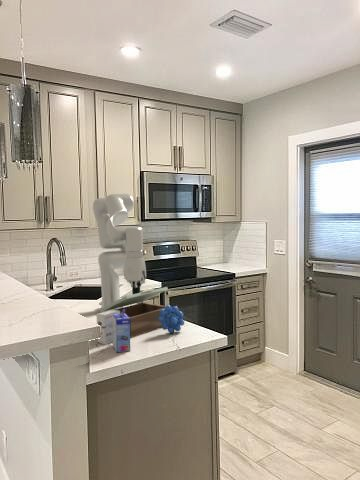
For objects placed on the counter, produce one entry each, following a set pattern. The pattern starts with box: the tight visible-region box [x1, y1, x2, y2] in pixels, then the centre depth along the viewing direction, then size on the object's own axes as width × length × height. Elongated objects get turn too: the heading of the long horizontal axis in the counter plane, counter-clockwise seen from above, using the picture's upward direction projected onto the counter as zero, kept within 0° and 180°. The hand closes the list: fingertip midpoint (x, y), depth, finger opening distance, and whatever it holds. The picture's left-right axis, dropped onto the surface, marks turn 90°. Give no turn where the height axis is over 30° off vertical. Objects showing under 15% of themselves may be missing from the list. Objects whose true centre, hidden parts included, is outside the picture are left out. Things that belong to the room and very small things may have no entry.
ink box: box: [95, 310, 120, 345], centre depth 156 cm, size 9×5×12 cm, turn 141°
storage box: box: [115, 302, 166, 339], centre depth 175 cm, size 18×24×8 cm
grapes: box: [158, 304, 185, 334], centre depth 164 cm, size 12×7×12 cm, turn 113°
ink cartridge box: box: [112, 309, 131, 353], centre depth 147 cm, size 10×6×14 cm, turn 17°
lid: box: [101, 286, 169, 313], centre depth 175 cm, size 19×25×2 cm
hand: (136, 296), depth 174 cm, fingers closed
